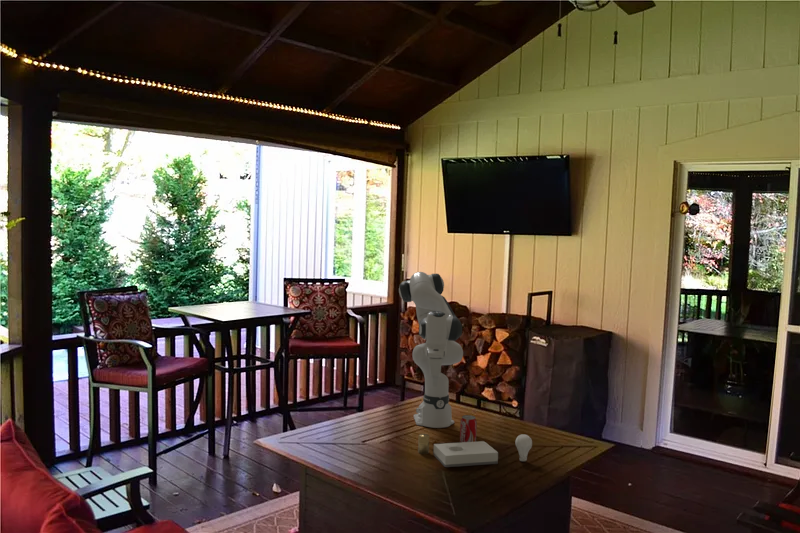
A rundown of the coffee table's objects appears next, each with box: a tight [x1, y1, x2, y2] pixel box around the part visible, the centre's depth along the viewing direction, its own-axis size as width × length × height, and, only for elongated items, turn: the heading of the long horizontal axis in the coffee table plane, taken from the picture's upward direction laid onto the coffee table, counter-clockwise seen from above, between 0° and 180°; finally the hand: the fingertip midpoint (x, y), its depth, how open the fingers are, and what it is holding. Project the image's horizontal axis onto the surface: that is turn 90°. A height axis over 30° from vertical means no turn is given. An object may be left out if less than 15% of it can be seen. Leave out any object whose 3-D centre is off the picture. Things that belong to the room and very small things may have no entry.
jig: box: [432, 440, 499, 468], centre depth 252 cm, size 14×22×4 cm, turn 106°
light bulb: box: [514, 434, 533, 463], centre depth 252 cm, size 7×7×11 cm
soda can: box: [459, 414, 478, 443], centre depth 271 cm, size 7×7×12 cm
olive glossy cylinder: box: [417, 433, 430, 455], centre depth 259 cm, size 4×4×7 cm
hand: (435, 384), depth 261 cm, fingers open, 8 cm apart
